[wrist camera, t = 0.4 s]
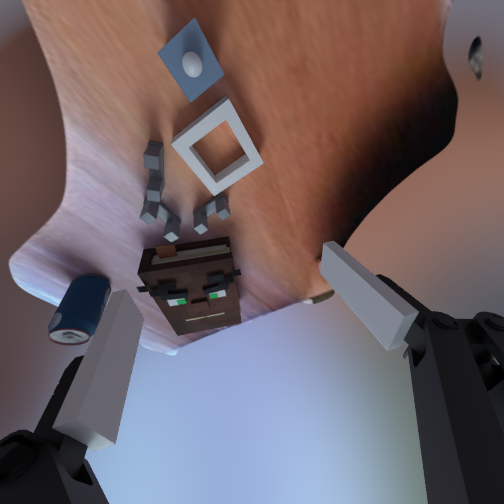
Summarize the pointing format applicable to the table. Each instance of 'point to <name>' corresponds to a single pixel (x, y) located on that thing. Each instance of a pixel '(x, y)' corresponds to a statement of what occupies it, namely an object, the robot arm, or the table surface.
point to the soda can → (79, 310)
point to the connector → (191, 61)
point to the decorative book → (193, 284)
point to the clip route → (156, 208)
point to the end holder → (204, 126)
